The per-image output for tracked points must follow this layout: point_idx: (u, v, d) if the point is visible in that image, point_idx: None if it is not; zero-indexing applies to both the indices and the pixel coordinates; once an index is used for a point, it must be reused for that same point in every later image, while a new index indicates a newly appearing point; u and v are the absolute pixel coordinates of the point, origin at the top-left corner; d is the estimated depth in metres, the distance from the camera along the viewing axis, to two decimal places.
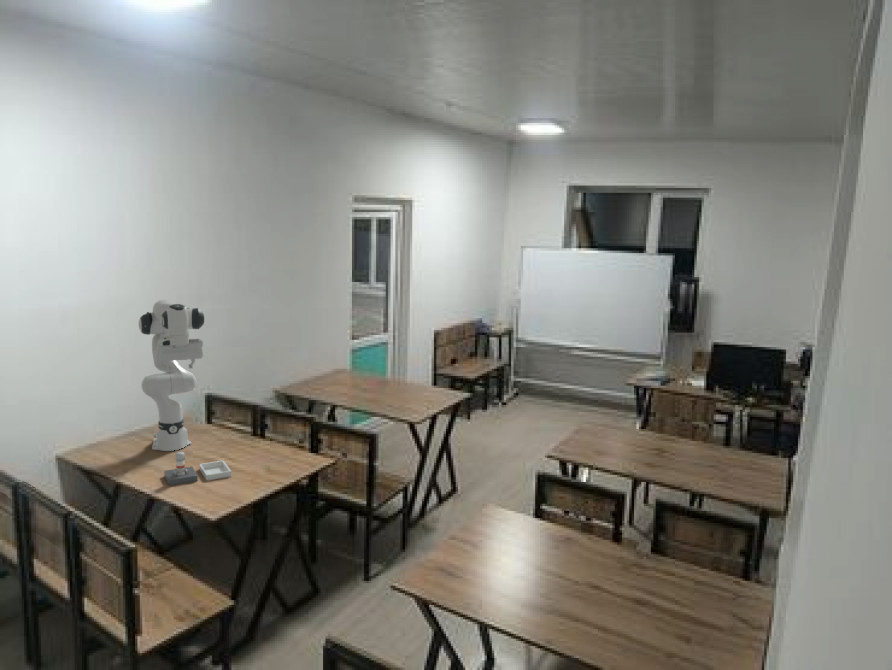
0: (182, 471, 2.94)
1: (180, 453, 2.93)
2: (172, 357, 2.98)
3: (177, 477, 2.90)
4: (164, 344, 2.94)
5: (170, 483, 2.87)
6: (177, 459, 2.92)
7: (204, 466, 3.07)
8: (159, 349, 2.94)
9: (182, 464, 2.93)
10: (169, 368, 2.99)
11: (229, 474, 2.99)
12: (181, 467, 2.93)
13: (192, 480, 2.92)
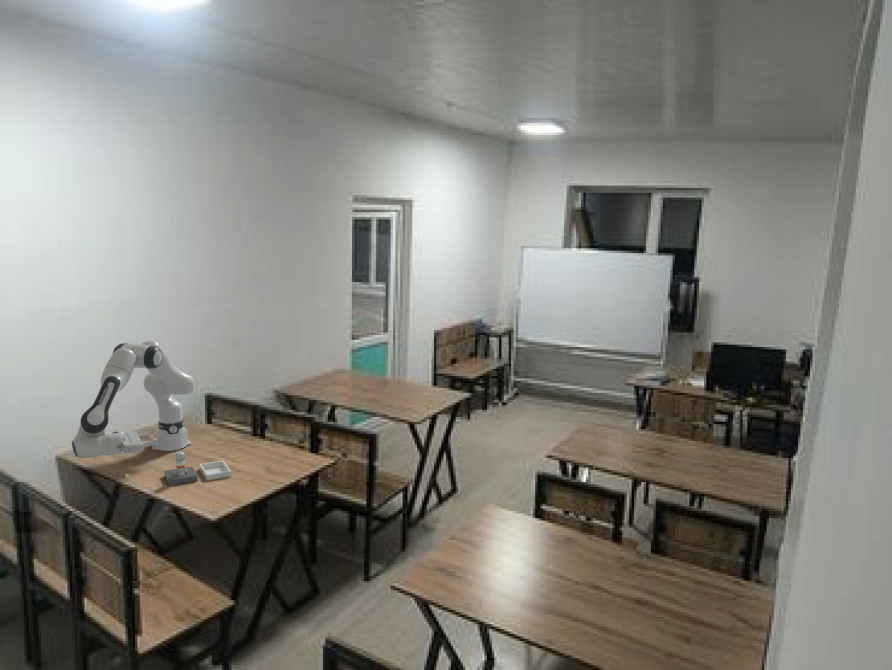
0: (182, 471, 2.94)
1: (180, 453, 2.93)
2: None
3: (177, 477, 2.90)
4: None
5: (170, 483, 2.87)
6: (177, 459, 2.92)
7: (204, 466, 3.07)
8: None
9: (182, 464, 2.93)
10: None
11: (229, 474, 2.99)
12: (181, 467, 2.93)
13: (192, 480, 2.92)
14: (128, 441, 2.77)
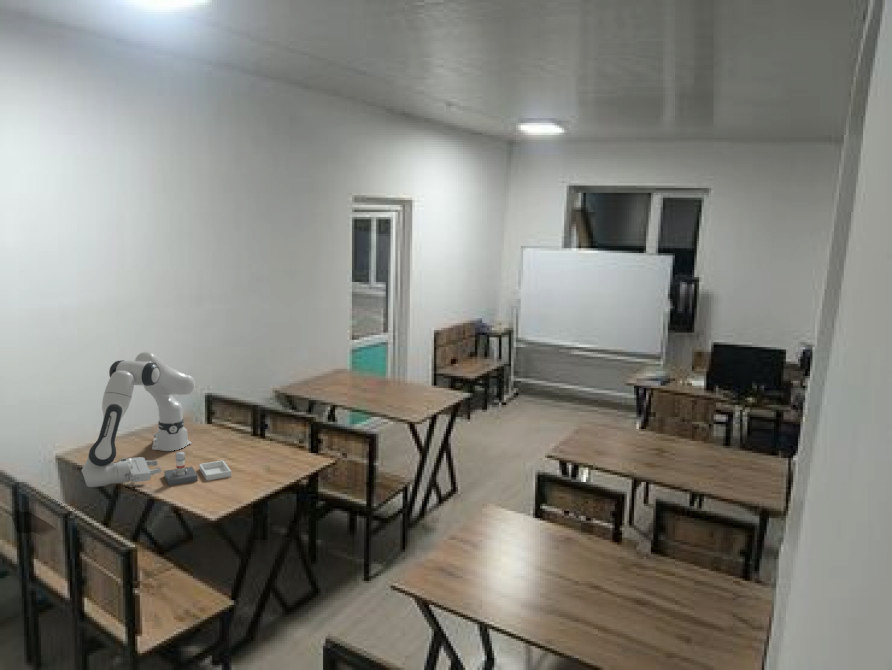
0: (182, 471, 2.94)
1: (180, 453, 2.93)
2: None
3: (177, 477, 2.90)
4: None
5: (170, 483, 2.87)
6: (177, 459, 2.92)
7: (204, 466, 3.07)
8: None
9: (182, 464, 2.93)
10: None
11: (229, 474, 2.99)
12: (181, 467, 2.93)
13: (192, 480, 2.92)
14: (136, 469, 2.81)
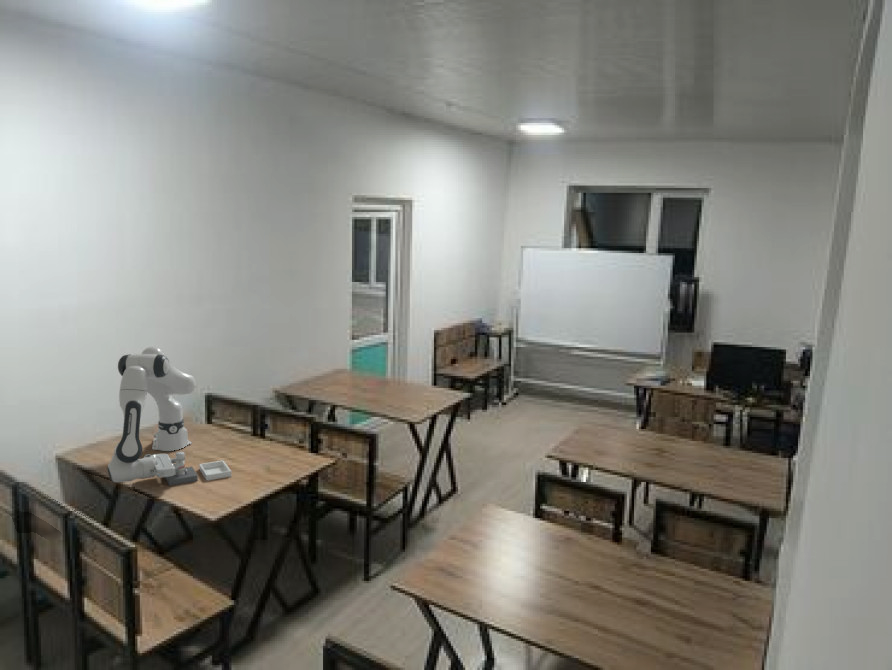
0: (182, 471, 2.94)
1: (180, 453, 2.93)
2: None
3: (177, 477, 2.90)
4: None
5: (170, 483, 2.87)
6: (177, 459, 2.92)
7: (204, 466, 3.07)
8: None
9: None
10: None
11: (229, 474, 2.99)
12: (181, 467, 2.93)
13: (192, 480, 2.92)
14: (160, 465, 2.86)
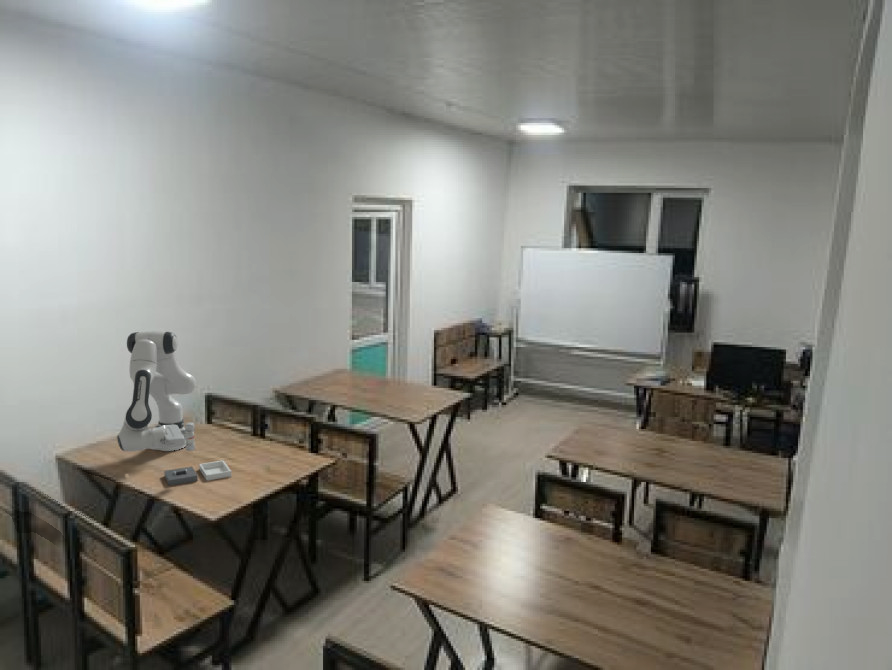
0: (192, 442, 2.94)
1: (190, 424, 2.93)
2: None
3: (177, 477, 2.90)
4: None
5: (170, 483, 2.87)
6: (187, 430, 2.92)
7: (204, 466, 3.07)
8: None
9: None
10: None
11: (229, 474, 2.99)
12: (191, 438, 2.93)
13: (192, 480, 2.92)
14: (170, 435, 2.86)
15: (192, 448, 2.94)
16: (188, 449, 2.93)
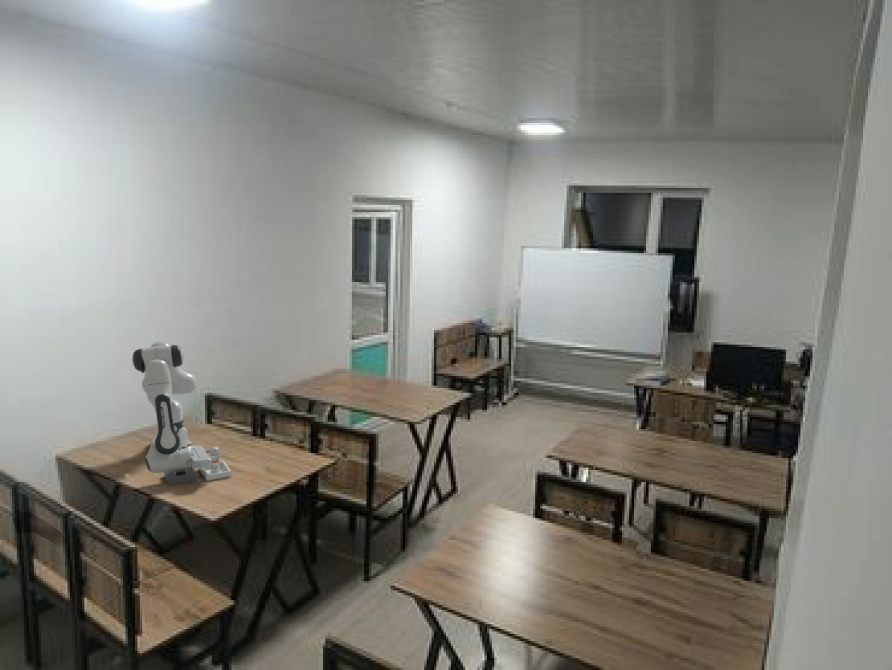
0: (216, 465, 3.01)
1: (215, 448, 3.01)
2: None
3: (177, 477, 2.90)
4: None
5: (170, 483, 2.87)
6: (212, 454, 3.00)
7: None
8: None
9: None
10: None
11: (229, 474, 2.99)
12: (216, 461, 3.01)
13: (192, 480, 2.92)
14: (196, 456, 2.94)
15: (217, 471, 3.02)
16: (213, 472, 3.01)
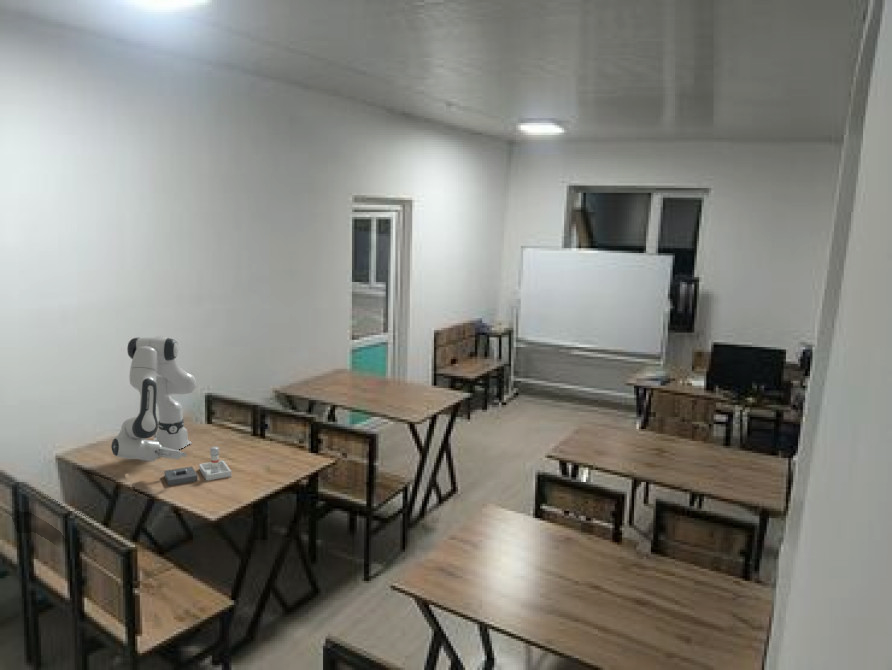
0: (216, 465, 3.01)
1: (215, 448, 3.01)
2: None
3: (177, 477, 2.90)
4: None
5: (170, 483, 2.87)
6: (212, 454, 3.00)
7: (204, 466, 3.07)
8: None
9: (216, 459, 3.01)
10: None
11: (229, 474, 2.99)
12: (216, 461, 3.01)
13: (192, 480, 2.92)
14: None
15: (217, 471, 3.02)
16: (213, 472, 3.01)
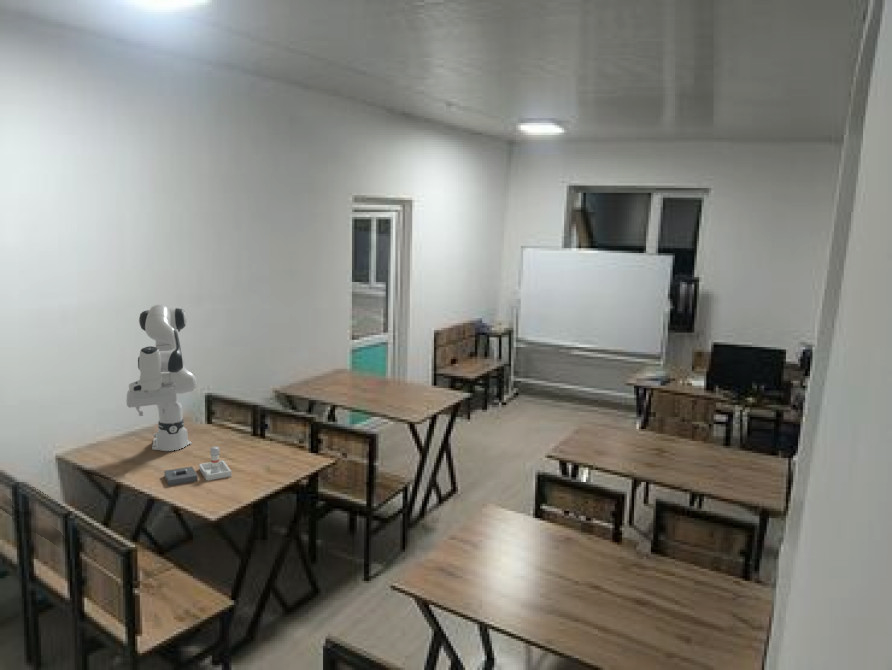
0: (217, 465, 3.01)
1: (215, 448, 3.01)
2: (143, 402, 2.84)
3: (177, 477, 2.90)
4: (135, 389, 2.80)
5: (170, 483, 2.87)
6: (212, 454, 3.00)
7: (204, 466, 3.07)
8: (130, 394, 2.80)
9: (217, 458, 3.01)
10: (141, 414, 2.85)
11: (229, 474, 2.99)
12: (216, 461, 3.01)
13: (192, 480, 2.92)
14: None
15: (217, 471, 3.02)
16: (213, 472, 3.01)
